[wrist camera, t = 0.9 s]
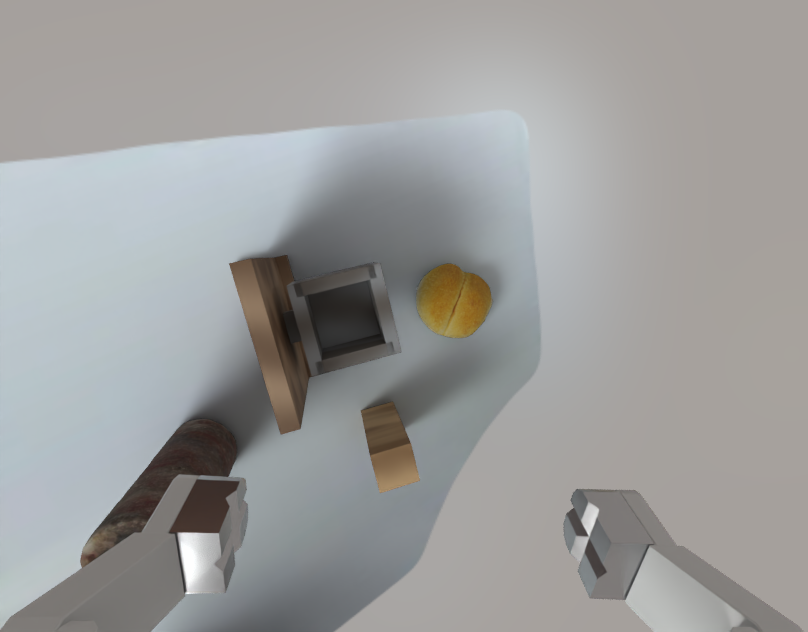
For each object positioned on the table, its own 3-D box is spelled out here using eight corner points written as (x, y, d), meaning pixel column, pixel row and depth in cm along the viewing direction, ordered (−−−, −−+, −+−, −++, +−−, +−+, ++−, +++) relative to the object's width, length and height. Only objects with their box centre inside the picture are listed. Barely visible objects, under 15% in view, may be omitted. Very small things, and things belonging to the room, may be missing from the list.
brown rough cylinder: (239, 413, 50) (182, 515, 30) (243, 473, 51) (190, 608, 32) (168, 417, 49) (61, 526, 29) (173, 479, 50) (73, 623, 30)
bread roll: (430, 254, 51) (438, 254, 48) (494, 284, 53) (507, 287, 49) (401, 318, 52) (408, 323, 48) (466, 345, 54) (477, 352, 50)
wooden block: (400, 431, 54) (420, 480, 42) (368, 440, 53) (380, 493, 41) (392, 401, 53) (410, 443, 41) (360, 410, 52) (370, 455, 41)
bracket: (390, 352, 52) (417, 395, 36) (268, 385, 50) (240, 446, 34) (362, 237, 50) (378, 229, 34) (232, 267, 48) (185, 273, 32)
